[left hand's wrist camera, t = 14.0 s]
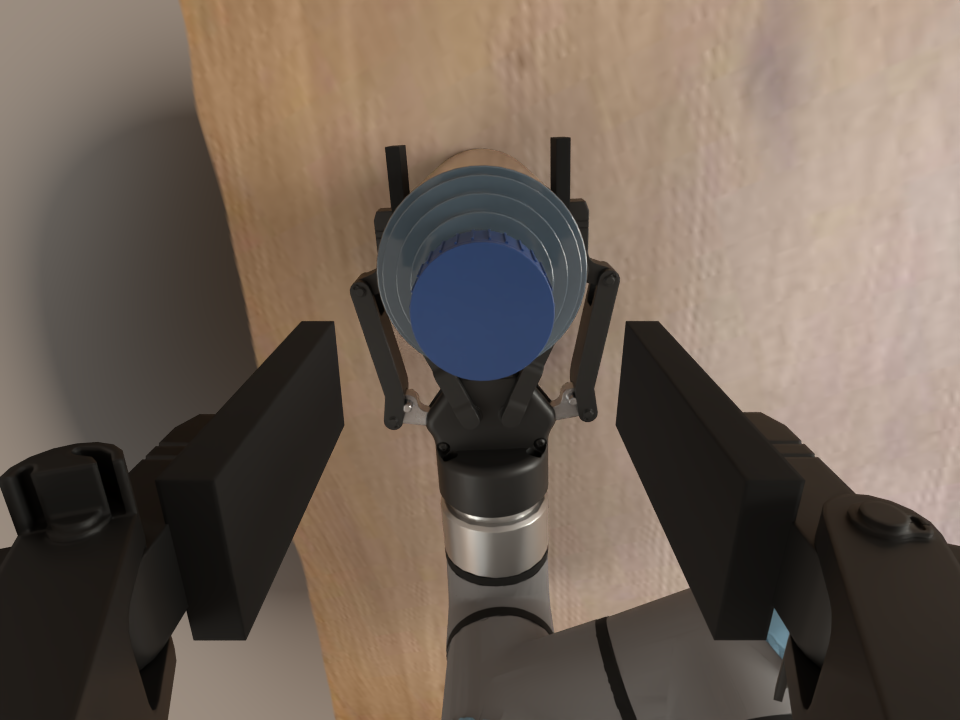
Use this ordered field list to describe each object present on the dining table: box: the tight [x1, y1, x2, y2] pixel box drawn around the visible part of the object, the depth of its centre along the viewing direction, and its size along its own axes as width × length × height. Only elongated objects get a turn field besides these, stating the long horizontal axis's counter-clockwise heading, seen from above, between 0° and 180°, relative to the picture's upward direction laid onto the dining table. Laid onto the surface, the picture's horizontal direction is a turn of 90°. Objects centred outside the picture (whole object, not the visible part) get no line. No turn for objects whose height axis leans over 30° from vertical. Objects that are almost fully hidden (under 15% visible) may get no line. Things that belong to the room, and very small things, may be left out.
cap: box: [409, 229, 555, 381], centre depth 19 cm, size 5×5×2 cm
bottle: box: [377, 149, 587, 358], centre depth 29 cm, size 8×8×22 cm
